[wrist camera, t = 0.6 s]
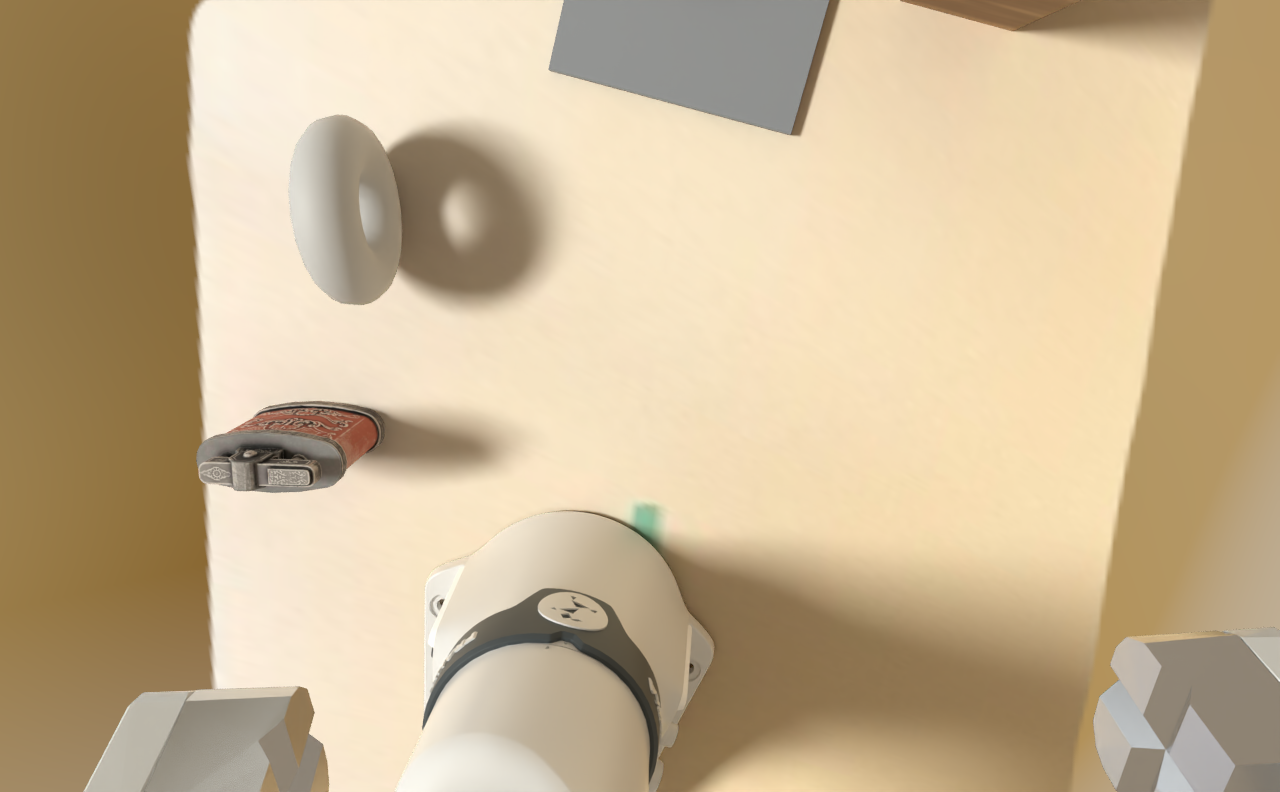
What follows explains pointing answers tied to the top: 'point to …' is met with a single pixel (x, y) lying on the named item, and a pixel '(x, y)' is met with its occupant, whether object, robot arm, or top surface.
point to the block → (997, 10)
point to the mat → (696, 52)
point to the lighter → (291, 447)
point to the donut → (345, 210)
